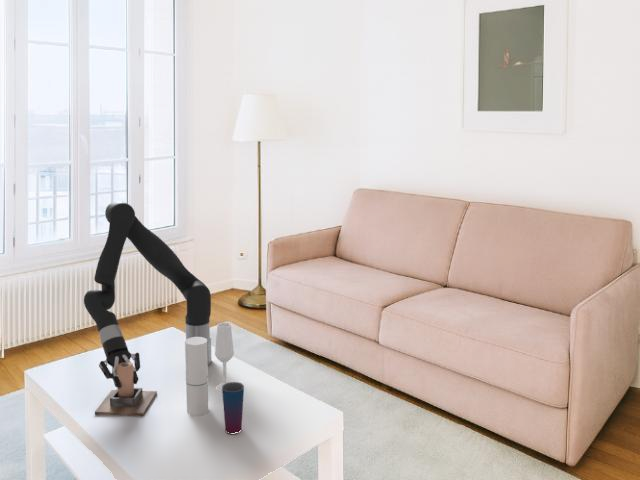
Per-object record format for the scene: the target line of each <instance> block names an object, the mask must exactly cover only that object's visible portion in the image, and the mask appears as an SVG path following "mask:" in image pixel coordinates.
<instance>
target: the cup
mask: <svg viewBox="0 0 640 480" xmlns="http://www.w3.org/2000/svg"><path fill="white" fill-rule="evenodd" d="M221 393H222V403H223V415H224V416H223V417H224V428H225V432H226V431H227V432H229V433H235V432H239V431H240V430H241V431H242V427H243V412H244V411H243V409H244V396H245V395H244V393H245V385H244V384H243V383H241V382H239V381H238V382H236V381H232V382H231V381H230V382H228V383H226V384H224V385H223V386H222V391H221Z"/></svg>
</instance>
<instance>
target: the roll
mask: <svg viewBox="0 0 640 480" xmlns="http://www.w3.org/2000/svg"><path fill="white" fill-rule="evenodd" d="M130 362H131V361H130ZM130 362H122V363H119V364H118V365H117V376H118V378H119V380H120V383H121V388H119V389H118V398H134V388H135V384H134V378H133V366H134V364H133V363H132V362H131V363H130Z"/></svg>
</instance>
